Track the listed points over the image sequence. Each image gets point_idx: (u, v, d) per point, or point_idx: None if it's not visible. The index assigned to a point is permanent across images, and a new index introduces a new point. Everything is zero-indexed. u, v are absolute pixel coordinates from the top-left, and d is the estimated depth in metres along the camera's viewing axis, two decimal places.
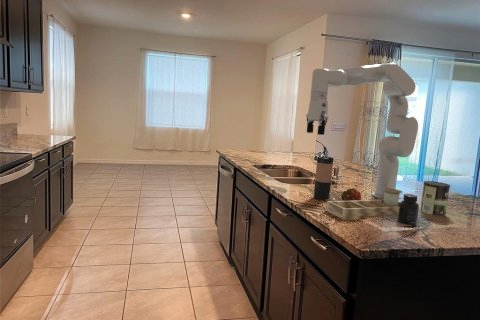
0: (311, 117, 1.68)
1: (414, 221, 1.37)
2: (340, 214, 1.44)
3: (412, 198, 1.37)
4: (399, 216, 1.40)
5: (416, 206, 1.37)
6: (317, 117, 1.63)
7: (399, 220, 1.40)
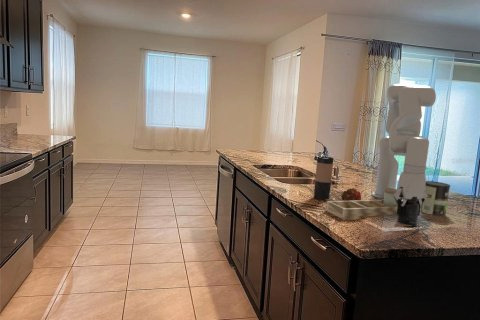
0: (413, 196, 1.37)
1: (414, 221, 1.37)
2: (340, 214, 1.44)
3: (412, 198, 1.37)
4: (399, 216, 1.40)
5: (416, 206, 1.37)
6: (423, 195, 1.38)
7: (399, 220, 1.40)
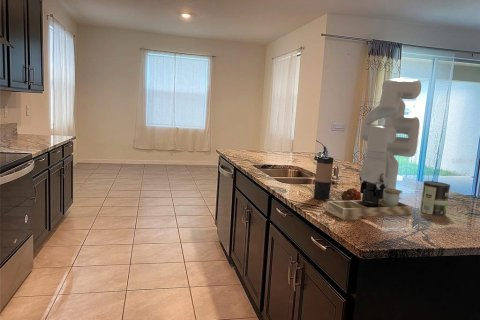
0: None
1: None
2: (340, 214, 1.44)
3: None
4: (373, 205, 1.50)
5: None
6: None
7: None
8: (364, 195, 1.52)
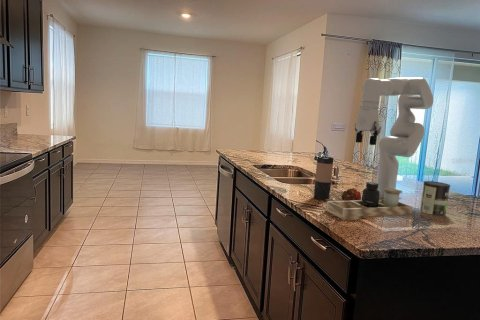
0: None
1: None
2: (340, 214, 1.44)
3: None
4: (373, 204, 1.50)
5: None
6: None
7: None
8: (364, 195, 1.52)
